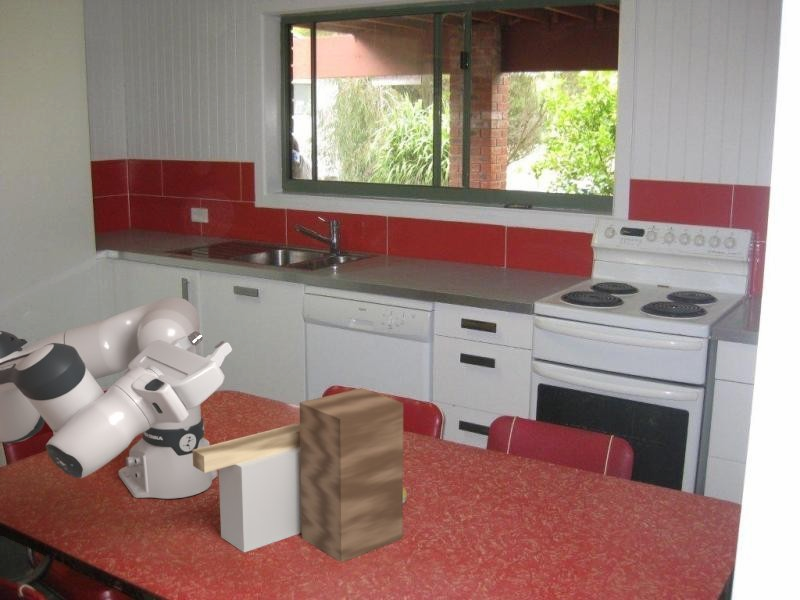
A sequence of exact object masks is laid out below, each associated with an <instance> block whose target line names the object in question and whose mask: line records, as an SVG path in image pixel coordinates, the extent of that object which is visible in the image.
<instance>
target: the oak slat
mask: <svg viewBox="0 0 800 600" xmlns="http://www.w3.org/2000/svg"><path fill="white" fill-rule="evenodd" d="M297 447H300V423H298V422H296V423H293V424H288V425H285V426H280V427H277V428H273V429H269V430H266V431H261V432H258V433H254V434H249V435H245V436H243V437H242V436H241V437H237V438H235V439H234V438H233V439H230V440H227V441H226V440H225V441H222V442H218V443H215V444H209V446H206V447H202V448H198V449H194V450H192V451H193V466H194V467H195V468H197V469H199V470H201V471H202V472H204V473H206V472H210V471H213V470H217V471H218V470H219V469H220V468H224V467H228V466H231V465H235V464H239V463H242V462H246V461H250V460H253V459H257V458H260V457H264V456H268V455H271V454H275V453H279V452H282V451H286V450H290V449H293V448H297Z"/></svg>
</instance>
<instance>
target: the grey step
mask: <svg viewBox="0 0 800 600" xmlns="http://www.w3.org/2000/svg"><path fill="white" fill-rule="evenodd" d="M218 482H219V483H218V485H219V486H218V487H219V488H218V489H219V509H220V510H219V512H220V519H219V520H220V537H221V539H223V540H224V541H227V542H228V543H229V544H231V545H232V546H233V547H236V549H238V550H239V551H241V552H242V553H247V552H249V551H253V550H257V549H259V548H262V547H265V546H267V545H270V544H273V543H276V542H279V541H282V540H285V539H287V538H291V537H294V536H297V535H299V534H302V519H301V458H300V447H297V448H293V449H290V450H286V451H282V452H279V453H275V454H271V455H268V456H264V457H260V458H257V459H253V460H250V461H246V462H242V463H239V464H235V465H231V466H228V467H224V468H220V469H218Z"/></svg>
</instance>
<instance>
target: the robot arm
mask: <svg viewBox="0 0 800 600" xmlns="http://www.w3.org/2000/svg"><path fill="white" fill-rule="evenodd" d="M200 321H201V320H200V316H199V313H198V310H197V308H195V306H194V305H193V303H191V302H190V301H188V300H187V299H185V298H182V297H179V296H170V297H169V296H167V297H164V298H161V299H159V300H155V301H151V302H149V303H147V304H146V303H145V304H144V305H141V306H138V307H135V308H132V309H129V310H127V311H124V312H122V313H118V314H116V315H114V316H111V317H108V318H105V319H102V320H97V321H94V322H92V323H87V324H83V325H80V326H77V327H73V328H70V329H67V330H63V331H60V332H57V333H53V334H51V335H48V336H45V337H43V338H41V339H39V340H37V341H35V342H33V343H30V344H29V345H27V344H28V341H27V340H26V339H25V338H18V337H17V336H16V335H15V334H13V333H12V332H11V333H10V332H7V331H4V330H0V443H3V444H6V445H7V444H15V443H20V442H23V441H26V440H28V439H30V438H31V437H33V436H34V435H36V434H37V433H39V432H40V431H41V430H42V429H43V427H44V425H45V423H46V424H47V425H48V427H49V428H50V430H52V432H53V433H52V434H53V436H51V438H50V439H49V440H48V442H46V444H45V449H46V452H47V454H48V456H49V458H50V460H51V461H52V462H53V463H54V464H55V465H56V467H57V468H59V469H60V470H62V471H63V472H64V473H65V474H67V475H68V476H69V477H72V478H75V479H83V478H85V477H88V476H90V475H92V474H93V473H95V472H96V471H98V470H99V469H101V468H102V467H105V466H106V465H107V464H108V463H111V461H112V460H114V459H115V458H116V457H118V456H119V455H120V454H122V452H124V451H125V450H127V448H128V447H129V446H130V445H131V443H132V442H133V440H134V439H135V438H136V437H138V436H139V435H140V434H142V435H141V439H139V440H138V441H137V442H136V443H135V444H134V445H133V446H132V447H131V448H130V449H129V453H128V455H129V456H127V457H126V459H125V463H126V466H124V467H122V468H120V469H119V470H118V477H119V478H120V480H121V481H122V482H123V484H124V485H125V486H126V488H127V489H128V490H129V493H131V495H132V496H133V497H134V498H136V499H141V498H144V499H145V498H155V499H165V500H169V499H170V500H171V499H179V498H180V499H181V498H187V497H192V496H194V495H197V494H200V493H202V492H204V491H206V490H208V489H210V487H211V485H212V483H213V480H214V479H216V478H217V477H219V473H218V469H217V470H213V471H210V472H206V473H204V472H202V471H201V470H199V469H197V468H195V467H194V466H193V451H192V450H194V449H198V448H202V447H206V446H210V442H209V440H207V438H205V437H204V436H205V423H204V419H203V417H202V403H203V402H205V401H206V400H208V398H209V397H211V396H212V395H213V394H214V393H215V392H216V391H218V390H219V389H220V387H221V386H222V385H223V383H224V381H225V378H226V377H225V374H224V373H223V371H222V369H221V368H220V367H222V364H223V363H224V360H225V358H226V357H227V356H228V355H229V354H230V353H232V351H233V348H232V346H231V344H230V343H229V342H226V341H225V340H224V341H223V340H222V341H220V342H219V343H218V344H216V345H215V347H214V348H215V350H214V351H213V352H212V354H208V355H207V356H206V357H204V356H201V355H199V354H197V349H196V348H197V347H196V346H197V345H198V344H200V342H202V341H203V336H202V335H201V333H200V332H199V331H200V326H201V322H200ZM25 345H27V346H25ZM23 346H25V347H24V348H23ZM124 371H125V372H124ZM122 372H124V373H123V375H122V377H120V378H119V379H118V380H116V381H115V382H114V383H112V384H111V386H109V387H108V388H107V390H106V392H104V390H103V388H102V387H101V385H100V384H99V383H98V382H97V380H98V379H102V378H105V377H109V376H112V375H114V374H115V375H116V374H119V373H122Z"/></svg>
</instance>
